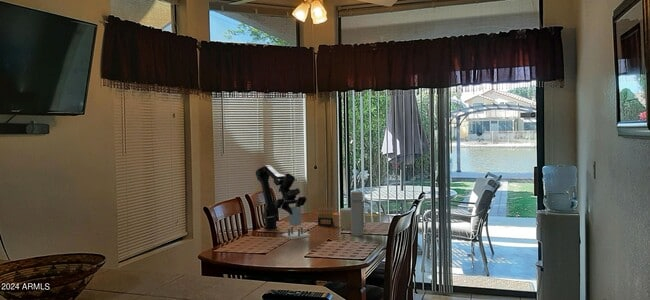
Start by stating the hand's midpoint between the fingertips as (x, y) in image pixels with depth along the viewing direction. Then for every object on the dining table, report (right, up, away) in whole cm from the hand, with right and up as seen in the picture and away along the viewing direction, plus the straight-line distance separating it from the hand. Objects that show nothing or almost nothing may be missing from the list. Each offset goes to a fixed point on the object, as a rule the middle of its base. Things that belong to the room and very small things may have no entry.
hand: (296, 213), depth 277 cm
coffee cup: (+31, -12, +22) cm, 40 cm away
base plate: (0, -13, +2) cm, 13 cm away
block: (-1, -7, +1) cm, 7 cm away
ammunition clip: (+17, -12, +33) cm, 39 cm away
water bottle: (+36, -13, 0) cm, 38 cm away
